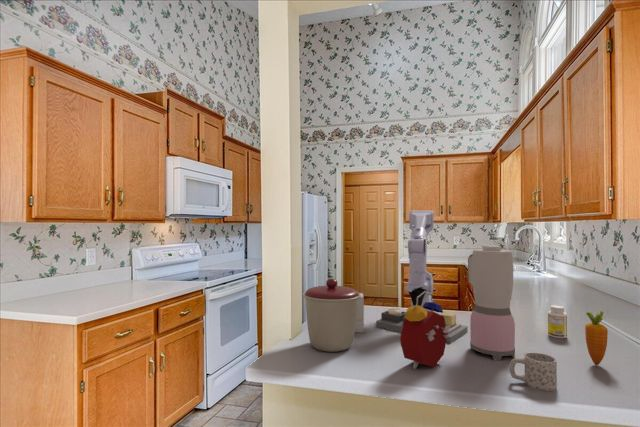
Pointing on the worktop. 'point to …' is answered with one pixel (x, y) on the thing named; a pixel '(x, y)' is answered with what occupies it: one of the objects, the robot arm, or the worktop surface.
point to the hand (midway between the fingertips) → (417, 308)
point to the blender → (492, 301)
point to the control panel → (398, 320)
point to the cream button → (395, 311)
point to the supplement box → (360, 315)
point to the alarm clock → (424, 333)
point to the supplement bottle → (557, 322)
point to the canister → (331, 316)
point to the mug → (537, 371)
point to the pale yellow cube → (449, 319)
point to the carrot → (596, 338)
